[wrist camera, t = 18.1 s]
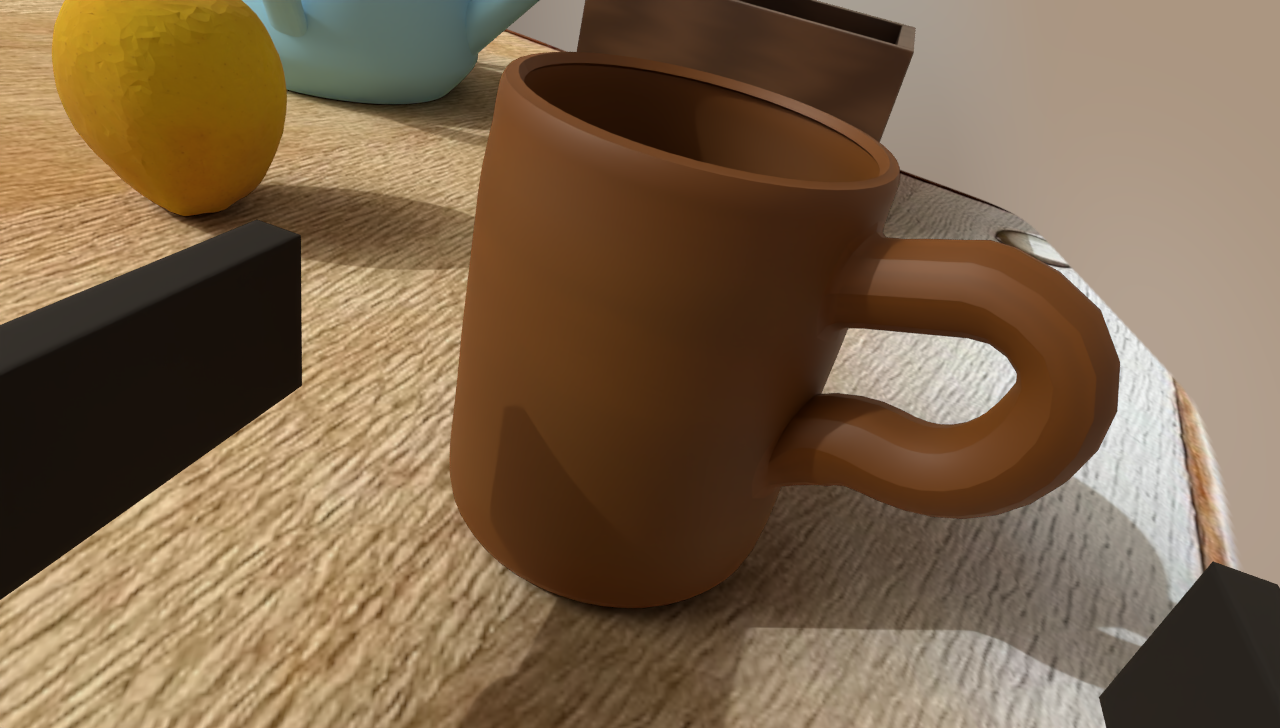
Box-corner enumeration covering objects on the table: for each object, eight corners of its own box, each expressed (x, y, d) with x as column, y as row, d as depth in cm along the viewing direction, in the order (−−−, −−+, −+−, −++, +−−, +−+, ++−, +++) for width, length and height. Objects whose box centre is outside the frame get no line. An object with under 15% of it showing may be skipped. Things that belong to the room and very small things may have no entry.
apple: (226, 157, 31) (213, -70, 27) (325, 220, 28) (328, -21, 24) (37, 179, 26) (-14, -93, 22) (134, 258, 23) (96, -36, 19)
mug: (972, 612, 18) (1208, 248, 14) (844, 869, 13) (1171, 400, 8) (586, 372, 23) (659, 44, 19) (372, 479, 18) (396, 47, 13)
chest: (861, 172, 50) (916, 27, 46) (844, 233, 40) (914, 51, 35) (634, 102, 53) (664, -42, 48) (561, 141, 42) (591, -39, 37)
